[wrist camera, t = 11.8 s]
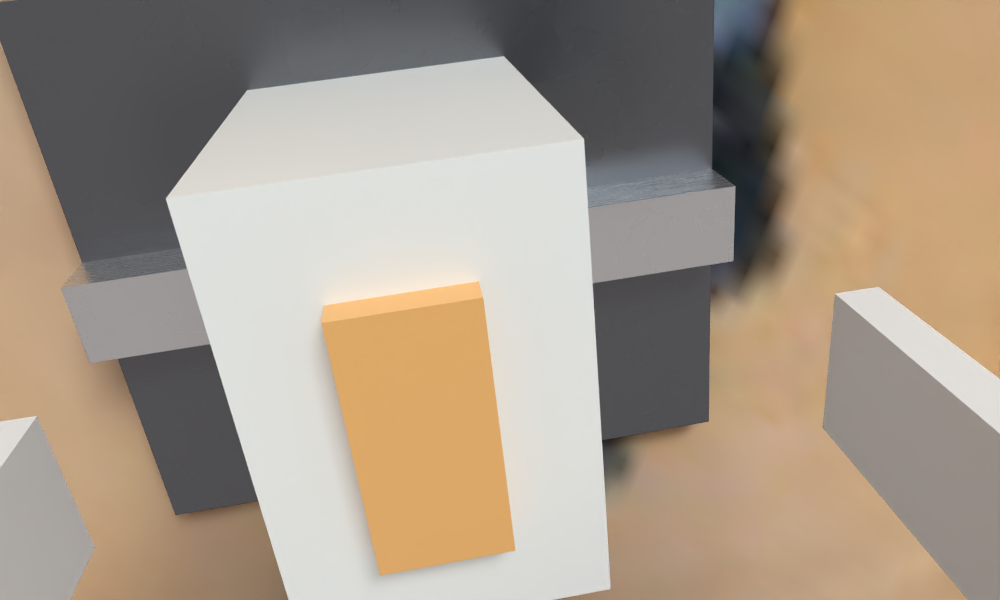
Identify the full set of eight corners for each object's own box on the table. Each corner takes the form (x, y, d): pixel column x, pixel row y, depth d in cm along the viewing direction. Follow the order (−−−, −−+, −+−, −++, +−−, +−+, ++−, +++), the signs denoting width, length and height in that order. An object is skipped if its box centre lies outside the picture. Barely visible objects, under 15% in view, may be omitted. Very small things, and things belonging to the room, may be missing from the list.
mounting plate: (699, -85, 19) (742, -86, 17) (696, 403, 25) (727, 450, 23) (6, -1, 18) (-47, 10, 15) (183, 492, 24) (163, 552, 22)
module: (503, 56, 19) (593, 149, 11) (536, 379, 23) (619, 612, 15) (247, 90, 18) (155, 212, 11) (326, 414, 22) (300, 674, 15)
